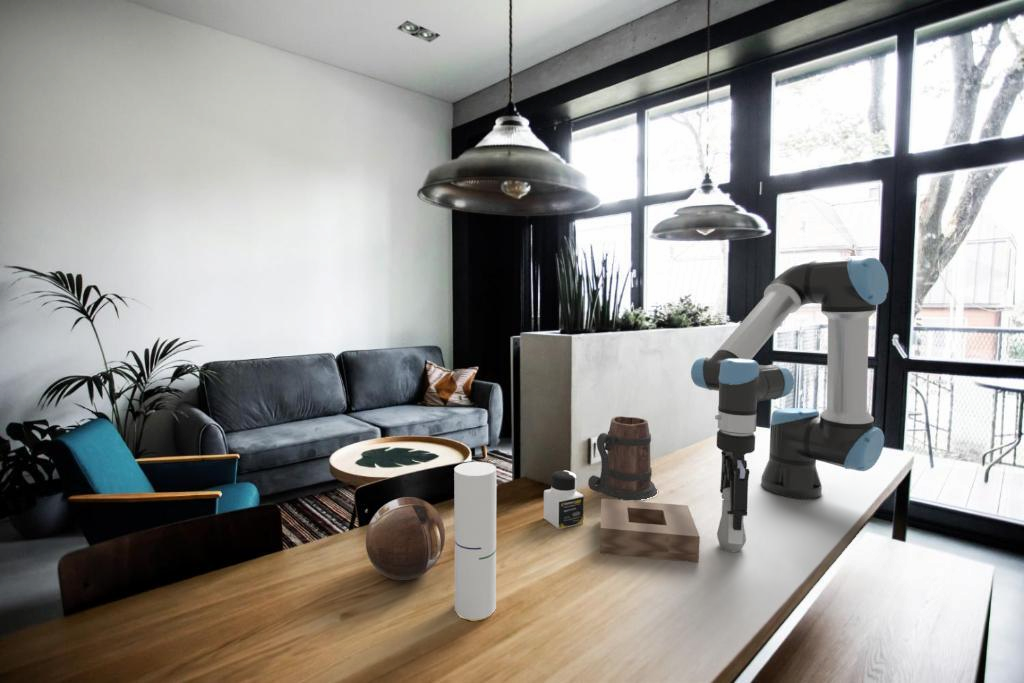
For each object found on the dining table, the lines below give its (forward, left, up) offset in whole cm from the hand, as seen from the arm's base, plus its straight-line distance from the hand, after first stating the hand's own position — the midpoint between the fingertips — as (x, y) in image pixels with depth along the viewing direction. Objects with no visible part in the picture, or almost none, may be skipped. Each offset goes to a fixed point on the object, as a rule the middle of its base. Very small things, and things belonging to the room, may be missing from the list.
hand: (731, 535), depth 111 cm
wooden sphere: (+65, +24, -3) cm, 69 cm away
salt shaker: (0, 0, -3) cm, 3 cm away
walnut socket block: (+18, 0, -3) cm, 18 cm away
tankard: (+23, -28, -3) cm, 36 cm away
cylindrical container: (+49, +32, -3) cm, 59 cm away
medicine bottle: (+37, -6, -3) cm, 38 cm away
